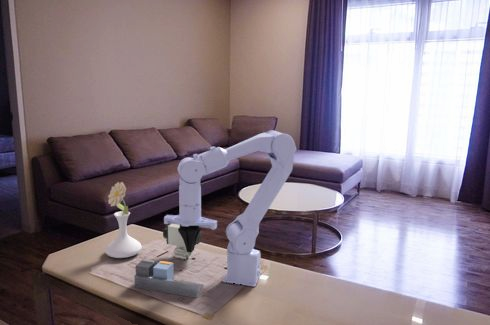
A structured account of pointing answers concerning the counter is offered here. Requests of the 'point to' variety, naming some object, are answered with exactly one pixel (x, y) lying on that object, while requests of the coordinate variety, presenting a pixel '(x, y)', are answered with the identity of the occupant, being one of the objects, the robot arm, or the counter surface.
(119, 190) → the flower in vase
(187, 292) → the rail
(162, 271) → the block
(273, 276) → the counter surface
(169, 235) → the pneumatic valve
